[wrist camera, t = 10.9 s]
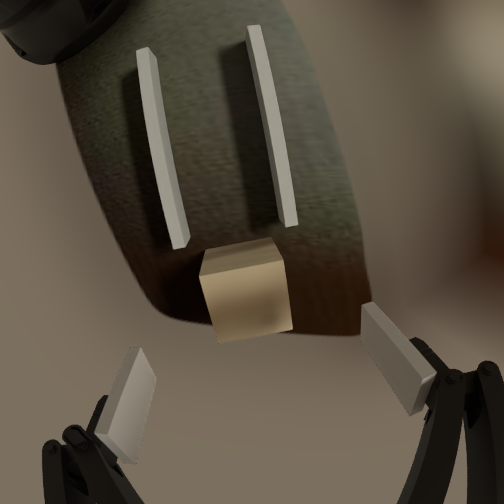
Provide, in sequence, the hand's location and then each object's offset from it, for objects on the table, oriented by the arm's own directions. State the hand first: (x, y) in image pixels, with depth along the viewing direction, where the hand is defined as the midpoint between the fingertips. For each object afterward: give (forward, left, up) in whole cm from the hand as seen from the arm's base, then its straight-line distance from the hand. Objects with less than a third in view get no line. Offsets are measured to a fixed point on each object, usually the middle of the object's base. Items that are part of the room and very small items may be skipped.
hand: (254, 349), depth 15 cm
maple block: (0, 0, -11) cm, 11 cm away
